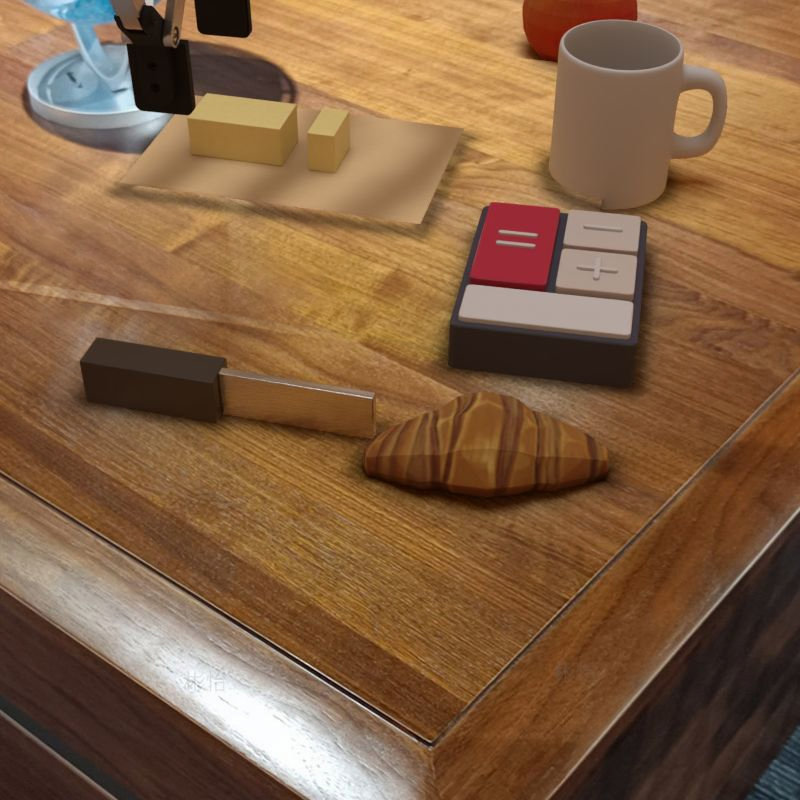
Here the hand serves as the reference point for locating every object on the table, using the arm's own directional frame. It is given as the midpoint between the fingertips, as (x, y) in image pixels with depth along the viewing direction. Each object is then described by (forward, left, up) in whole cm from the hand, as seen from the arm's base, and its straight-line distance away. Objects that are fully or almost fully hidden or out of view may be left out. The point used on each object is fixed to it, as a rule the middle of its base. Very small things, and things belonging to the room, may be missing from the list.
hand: (197, 70), depth 75 cm
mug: (+23, +23, -17) cm, 37 cm away
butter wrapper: (-1, +19, -17) cm, 25 cm away
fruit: (+16, +43, -17) cm, 49 cm away
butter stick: (-5, +19, -15) cm, 25 cm away
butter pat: (+2, +19, -15) cm, 24 cm away
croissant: (+19, -10, -17) cm, 28 cm away
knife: (+4, -9, -17) cm, 20 cm away
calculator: (+20, +6, -17) cm, 27 cm away
